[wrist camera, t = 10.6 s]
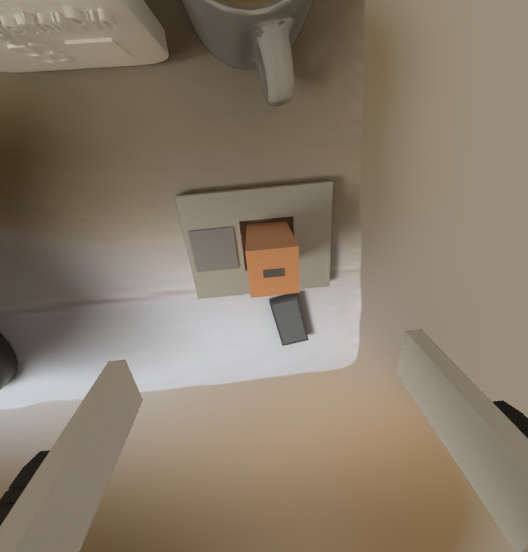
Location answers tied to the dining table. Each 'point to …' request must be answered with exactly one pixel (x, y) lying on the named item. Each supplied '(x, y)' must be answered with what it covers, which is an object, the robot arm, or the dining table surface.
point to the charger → (272, 259)
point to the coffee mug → (253, 37)
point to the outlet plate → (228, 240)
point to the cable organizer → (78, 35)
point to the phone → (289, 318)
